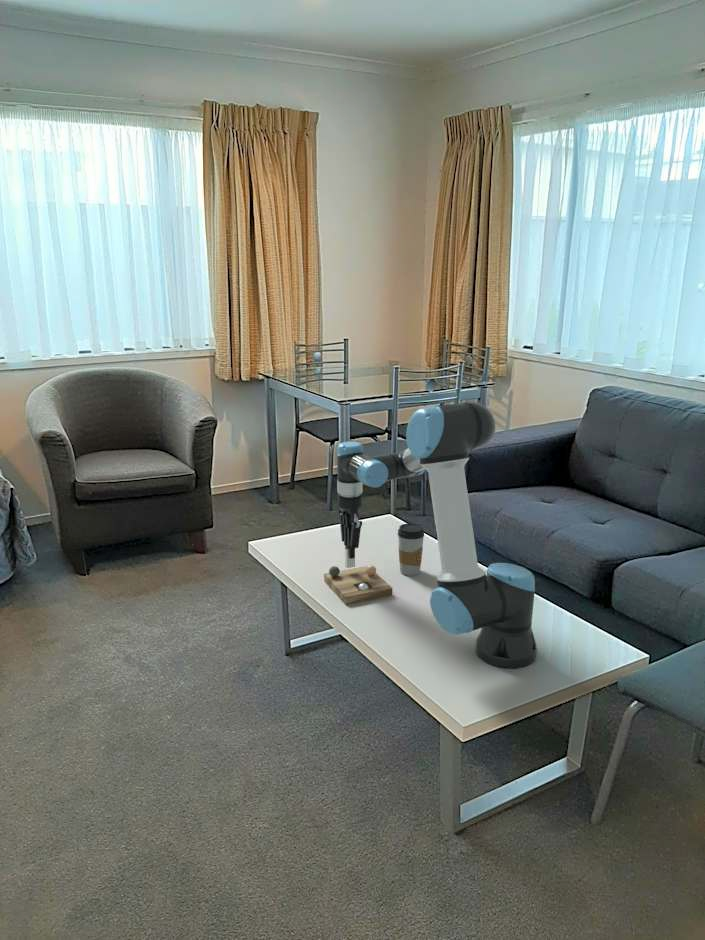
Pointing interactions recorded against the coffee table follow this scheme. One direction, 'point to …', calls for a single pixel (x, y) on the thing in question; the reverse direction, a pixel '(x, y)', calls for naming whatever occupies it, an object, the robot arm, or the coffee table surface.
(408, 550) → the coffee cup
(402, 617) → the coffee table surface
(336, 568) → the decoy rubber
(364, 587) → the steel ball
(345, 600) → the wooden flat board
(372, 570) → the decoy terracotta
